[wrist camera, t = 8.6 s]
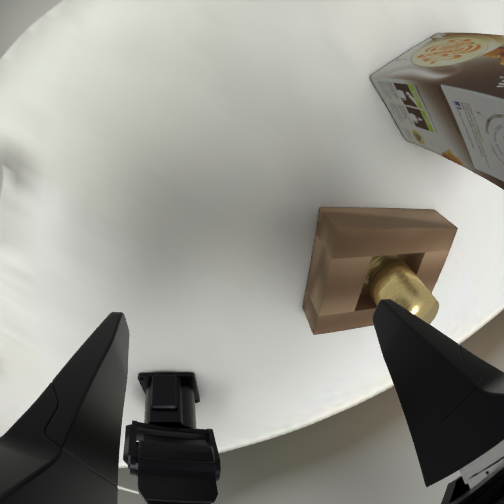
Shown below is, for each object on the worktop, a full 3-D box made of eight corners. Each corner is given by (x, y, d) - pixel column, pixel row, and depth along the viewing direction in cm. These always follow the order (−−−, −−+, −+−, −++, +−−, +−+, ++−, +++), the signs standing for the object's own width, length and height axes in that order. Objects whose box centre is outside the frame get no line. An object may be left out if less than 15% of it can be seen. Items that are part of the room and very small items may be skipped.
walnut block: (404, 293, 29) (420, 315, 26) (302, 307, 27) (313, 334, 24) (434, 209, 23) (457, 228, 20) (319, 207, 21) (338, 229, 18)
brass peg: (383, 274, 26) (425, 333, 20) (347, 277, 26) (387, 343, 19) (394, 238, 24) (446, 295, 18) (357, 239, 24) (407, 303, 17)
